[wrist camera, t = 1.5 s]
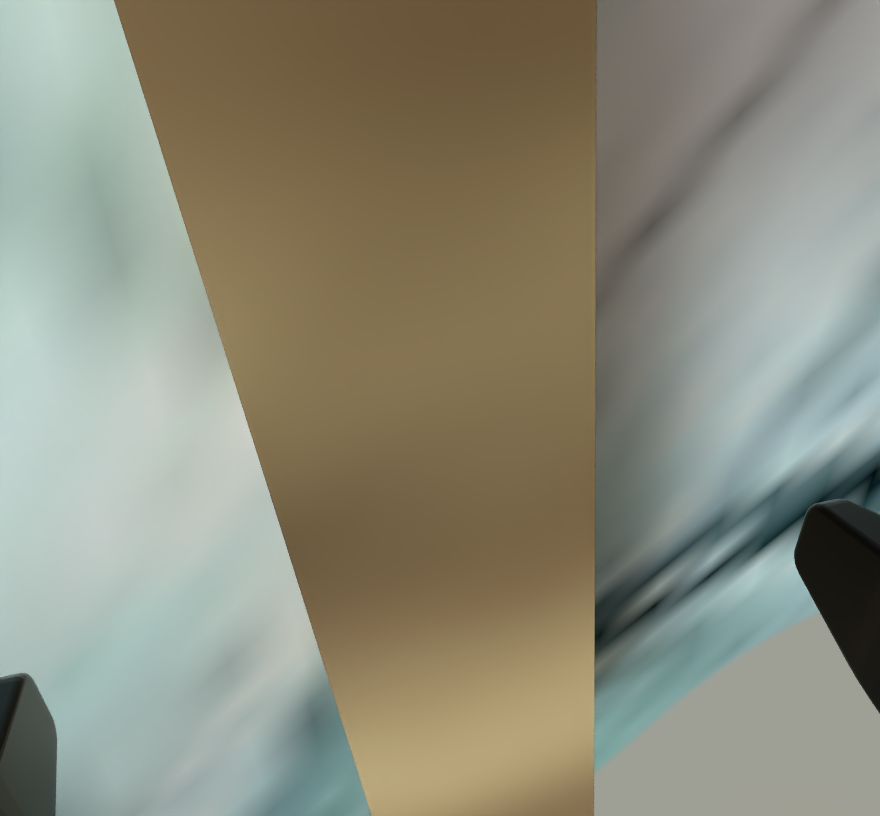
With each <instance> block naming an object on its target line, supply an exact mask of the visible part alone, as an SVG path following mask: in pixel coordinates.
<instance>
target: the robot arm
mask: <svg viewBox="0 0 880 816" xmlns="http://www.w3.org/2000/svg"><path fill="white" fill-rule="evenodd" d="M794 559H795V565H796V568H797V570H798V573H799V575H800V576H801V578H802V580H803V582H804V584H805V586H806V587H807V589H808V591H809V593H810V595H811V597H812V598H813V600H814V602H815V604H816V606H817V608H818V610H819V611H820V613H821V615H822V617H823V619H824V621H825V622H826V624H827V626H828V628H829V630H830V631H831V633H832V635H833V637H834V639H835V641H836V643H837V644H838V646H839V648H840V650H841V652H842V654H843V656H844V657H845V659H846V661H847V663H848V664H849V666H850V668H851V669H852V671H853V673H854V675H855V677H856V678H857V680H858V681H859V683H860V685H861V686H862V688H863V689H864V691H865V692H866V694H867V695H868V697H869V698H870V700H871V701H872V703H873V704H874V706H875V707H876V709H877V710H878V712H879V713H880V515H879V514H877V513H875V512H873V511H871V510H868V509H866V508H864V507H862V506H860V505H858V504H855V503H853V502H851V501H848V500H845V499H835V500H830V501H826V502H821V503H816V504H814V505H812V506H811V507H810V508H809V509H808V510H807V512H806V515H805V518H804V521H803V525H802V528H801V531H800V534H799V537H798V541H797V544H796V547H795V551H794ZM56 765H57V735H56V728H55V724H54V720H53V718H52V716H51V714H50V712H49V710H48V708H47V706H46V704H45V702H44V700H43V698H42V696H41V694H40V692H39V690H38V688H37V686H36V684H35V682H34V680H33V679H32V677H31V676H29V675H28V674H26V673H19V674H14V675H9V676H5V677H0V816H55V812H56Z"/></svg>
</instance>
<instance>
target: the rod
mask: <svg viewBox="0 0 880 816" xmlns="http://www.w3.org/2000/svg"><path fill="white" fill-rule="evenodd" d="M114 2H115V5H116V8H117V11H118V14H119V18H120V21H121V24H122V27H123V30H124V33H125V37H126V40H127V43H128V46H129V49H130V52H131V56H132V59H133V62H134V65H135V68H136V71H137V75H138V78H139V81H140V84H141V87H142V90H143V94H144V97H145V100H146V103H147V106H148V109H149V113H150V116H151V119H152V122H153V125H154V128H155V132H156V135H157V138H158V141H159V144H160V147H161V151H162V154H163V157H164V160H165V163H166V166H167V170H168V173H169V176H170V179H171V182H172V185H173V189H174V192H175V195H176V198H177V201H178V204H179V208H180V211H181V214H182V217H183V220H184V223H185V227H186V230H187V233H188V236H189V239H190V242H191V246H192V249H193V252H194V255H195V258H196V261H197V265H198V268H199V271H200V274H201V277H202V280H203V284H204V287H205V290H206V293H207V296H208V299H209V302H210V306H211V309H212V312H213V315H214V318H215V321H216V325H217V328H218V331H219V334H220V337H221V340H222V344H223V347H224V350H225V353H226V356H227V359H228V363H229V366H230V369H231V372H232V375H233V378H234V382H235V385H236V388H237V391H238V394H239V397H240V401H241V404H242V407H243V410H244V413H245V416H246V420H247V423H248V426H249V429H250V432H251V435H252V439H253V442H254V445H255V448H256V451H257V454H258V458H259V461H260V464H261V467H262V470H263V473H264V477H265V480H266V483H267V486H268V489H269V492H270V496H271V499H272V502H273V505H274V508H275V511H276V515H277V518H278V521H279V524H280V527H281V530H282V534H283V537H284V540H285V543H286V546H287V549H288V553H289V556H290V559H291V562H292V565H293V568H294V571H295V575H296V578H297V581H298V584H299V587H300V590H301V594H302V597H303V600H304V603H305V606H306V609H307V613H308V616H309V619H310V622H311V625H312V628H313V632H314V635H315V638H316V641H317V644H318V647H319V651H320V654H321V657H322V660H323V663H324V666H325V670H326V673H327V676H328V679H329V682H330V685H331V689H332V692H333V695H334V698H335V701H336V704H337V708H338V711H339V714H340V717H341V720H342V723H343V727H344V730H345V733H346V736H347V739H348V742H349V746H350V749H351V752H352V755H353V758H354V761H355V765H356V768H357V771H358V774H359V777H360V780H361V784H362V787H363V790H364V793H365V796H366V799H367V803H368V806H369V809H370V812H371V815H372V816H594V645H595V309H596V0H114Z"/></svg>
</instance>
